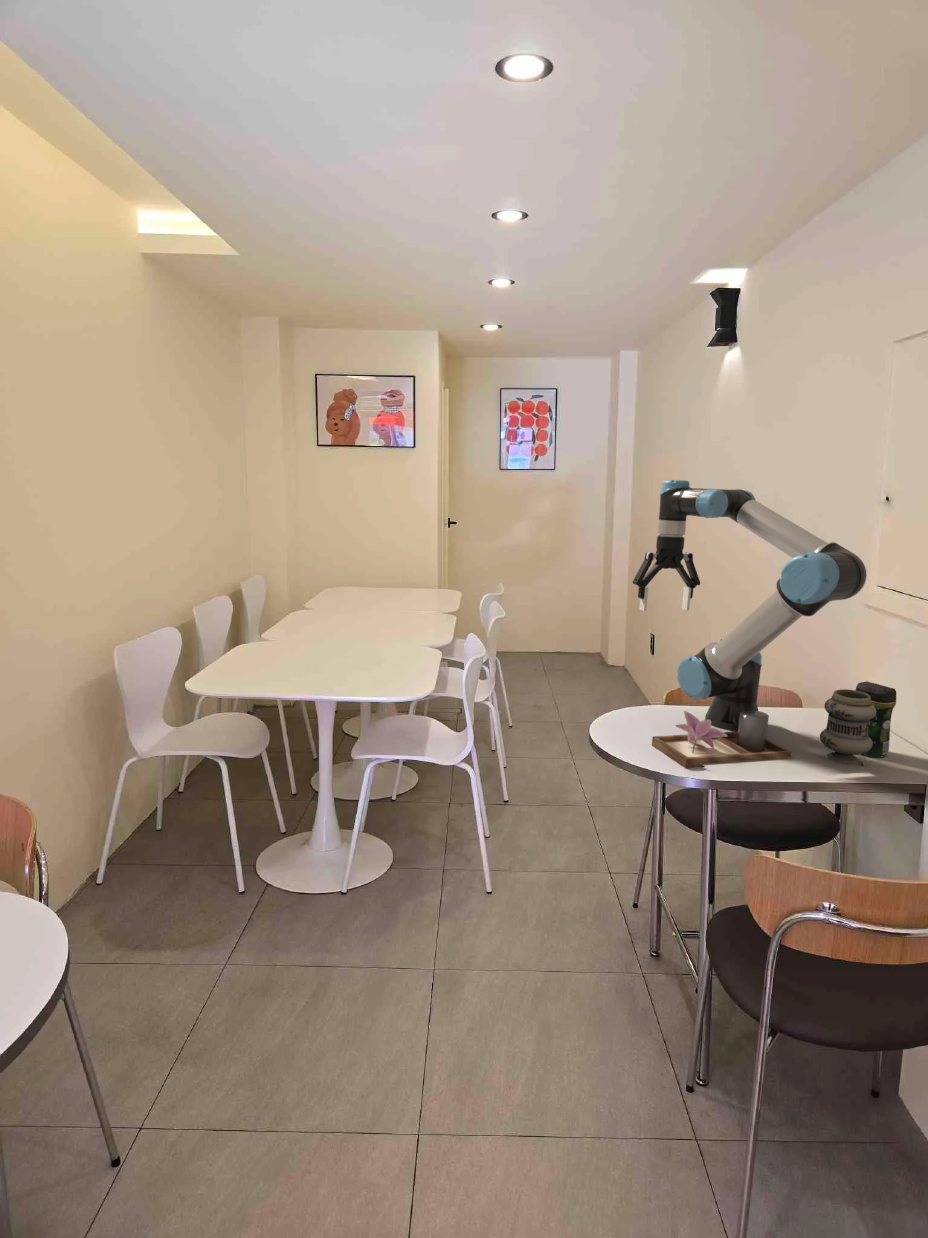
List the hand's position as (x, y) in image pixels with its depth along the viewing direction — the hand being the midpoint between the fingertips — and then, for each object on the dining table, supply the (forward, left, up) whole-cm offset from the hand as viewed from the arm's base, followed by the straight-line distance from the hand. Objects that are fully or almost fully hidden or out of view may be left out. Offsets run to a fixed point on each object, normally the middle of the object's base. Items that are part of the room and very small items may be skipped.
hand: (664, 610), depth 228 cm
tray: (-1, +31, -32) cm, 44 cm away
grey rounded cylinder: (-10, +31, -31) cm, 45 cm away
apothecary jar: (-30, +42, -32) cm, 61 cm away
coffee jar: (-42, +37, -32) cm, 64 cm away
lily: (+5, +30, -31) cm, 43 cm away
